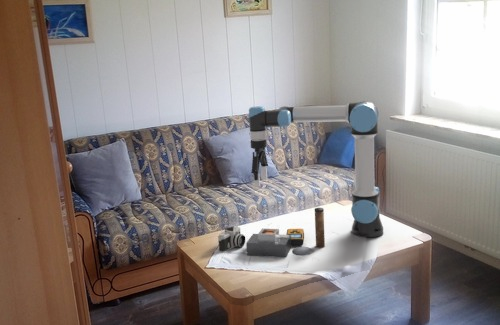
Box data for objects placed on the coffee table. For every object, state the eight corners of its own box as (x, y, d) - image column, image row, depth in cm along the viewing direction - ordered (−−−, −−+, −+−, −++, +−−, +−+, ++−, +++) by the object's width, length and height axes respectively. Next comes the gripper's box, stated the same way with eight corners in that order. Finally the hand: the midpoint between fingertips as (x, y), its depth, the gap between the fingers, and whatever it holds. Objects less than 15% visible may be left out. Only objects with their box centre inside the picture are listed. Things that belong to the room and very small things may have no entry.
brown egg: (274, 242, 242) (274, 232, 241) (272, 246, 238) (272, 235, 237) (265, 242, 244) (265, 231, 243) (263, 245, 240) (262, 235, 238)
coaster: (314, 247, 242) (314, 247, 242) (311, 255, 234) (311, 254, 234) (294, 247, 245) (294, 246, 245) (291, 254, 236) (291, 253, 236)
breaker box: (291, 247, 245) (290, 227, 243) (286, 257, 234) (285, 237, 232) (254, 245, 250) (252, 226, 248) (247, 255, 239) (245, 235, 237)
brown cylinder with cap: (325, 244, 245) (324, 207, 242) (324, 248, 242) (322, 210, 238) (316, 244, 247) (315, 207, 243) (315, 247, 243) (314, 210, 239)
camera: (231, 254, 241) (229, 233, 239) (216, 251, 245) (214, 231, 243) (250, 243, 254) (248, 223, 252) (235, 240, 258) (233, 221, 256)
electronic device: (304, 234, 260) (303, 227, 260) (304, 245, 245) (304, 238, 245) (286, 234, 261) (286, 227, 261) (286, 245, 246) (285, 238, 245)
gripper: (257, 135, 263) (259, 176, 267) (243, 144, 239) (246, 189, 244) (272, 134, 261) (274, 176, 265) (259, 144, 237) (261, 189, 242)
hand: (260, 183), depth 254 cm, fingers open, 13 cm apart
